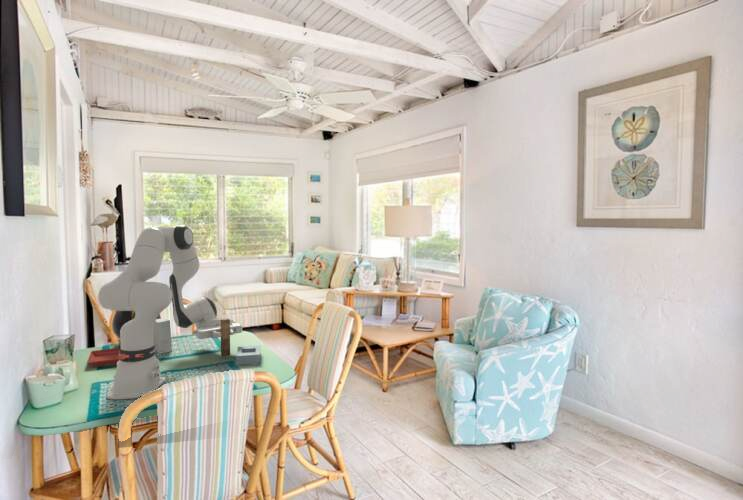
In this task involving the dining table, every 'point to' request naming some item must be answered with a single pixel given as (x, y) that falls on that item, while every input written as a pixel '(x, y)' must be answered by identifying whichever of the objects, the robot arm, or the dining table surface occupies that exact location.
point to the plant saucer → (103, 357)
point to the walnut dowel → (225, 337)
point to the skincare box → (162, 335)
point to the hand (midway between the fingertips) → (226, 334)
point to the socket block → (248, 355)
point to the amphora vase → (122, 321)
